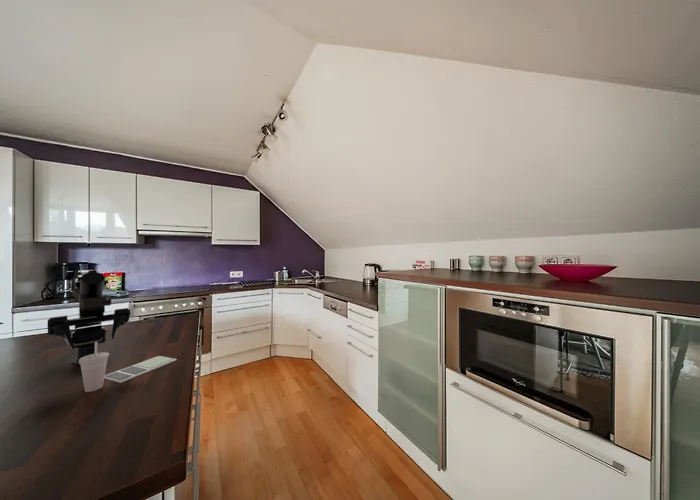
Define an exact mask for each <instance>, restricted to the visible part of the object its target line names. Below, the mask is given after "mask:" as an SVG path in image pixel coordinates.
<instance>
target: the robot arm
mask: <svg viewBox="0 0 700 500" xmlns="http://www.w3.org/2000/svg"><path fill="white" fill-rule="evenodd" d="M70 281H71V282H70V292H73V293H72V294H73V298H76V299H77V300H78V308H79V309H78V313H79V314H78V315H79V316H78V318H70V319H69V318H68V315H61V316H54V317H50V318H49V319H47V335H49V336H51V335H52V336H53V335H54V337H60V338H62V339H63V340H64V341H65V342H66V343H67V345H68V346H69V347H70V348H71V350H73V349H76V355H75V356H76V359H75V360H72V361H70V362H71V363H72V364H75V365H78V366H81V364H79V359H80V358H82V357H84V356H87V355H91V354H95V342H97V353H99V344H103V343H105V342H106V340H107V339H106V338H107V337H106V336H107V329H105V327H104V326H103V325H102V323H103V322H108V321H109V322H110V321H113V323H112V331H111V340H114V339H115V337H116V335H117V331H118V329H120V327H121V326H124V325H125V324H126V323H129V322H130V318H131V309H130V308H128V307H125V308H124V307H123V308H117V309H114V313H111V314H104V313H106V312H105V311H106V308H105V307H106V306H107V307H108V306H112V295H110V294H109V295H103V292H104V288H105V287H106V286H107V284H109V280H108V279H106V276H105V275H104V274H103V273H100V272H97V270H96V269H87V270H83V269H82V270H78V271H77V275H75V276H74V277H72V278H71V280H70ZM72 326H74V331H72V332H71V327H72Z"/></svg>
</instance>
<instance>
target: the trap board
mask: <svg viewBox="0 0 700 500" xmlns="http://www.w3.org/2000/svg"><path fill="white" fill-rule="evenodd" d="M176 361H177V358H172V357H167V356H162V355H158V356H154V357H151V358H149V359H146V360H144V361H142V362H138V363H136V364H132V365H131V366H127V367H124V368H122V369H119V370H116V371H113V372H111V373H108V374H105V376H104V380H106V381H110V382H115V383H118V384H123V383H124V382H127V381H129V380H132V379H134V378H137V377H140V376H141V375H145V374H147V373H149V372H152V371H154V370H156V369H159V368H162V367H164V366H167V365H169V364H172V363H174V362H176Z"/></svg>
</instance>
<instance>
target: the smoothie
mask: <svg viewBox="0 0 700 500" xmlns="http://www.w3.org/2000/svg"><path fill="white" fill-rule="evenodd" d="M109 357H110V353H109V352H108V351H107V352H106V351H104V352H103V351H102V352H98V353H97V342H95V354H91V355H87V356H84V357H82V358H80V359H79V364H81V365H80V369H81V374H82V376H81V377H82V381H83V388H84V392H85V393H90V392H95V391H97V390H100V389H102V388H103V387H104V386H103V385H104V381H105V379H104V376H105V375H106V371H107V365H108V358H109Z"/></svg>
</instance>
